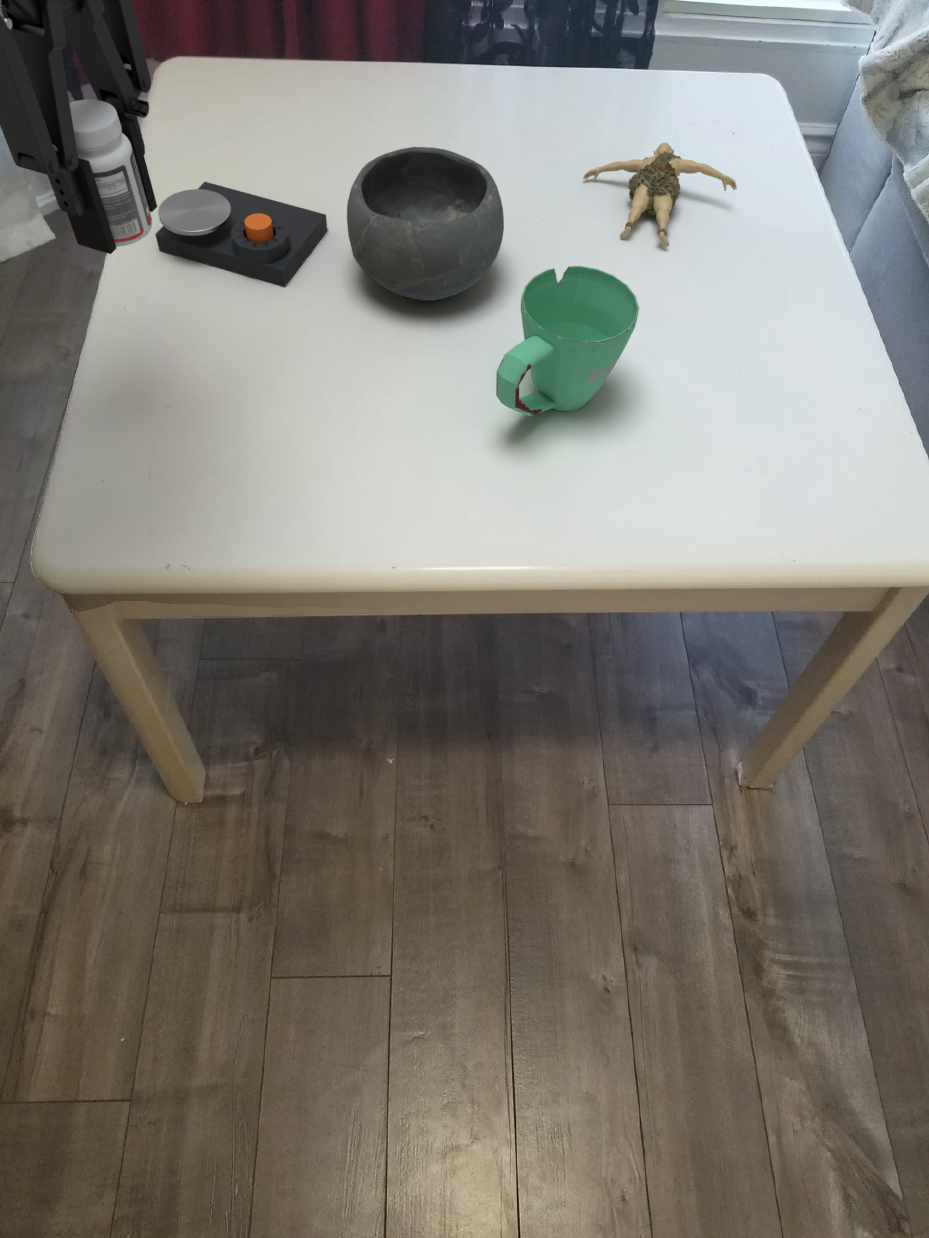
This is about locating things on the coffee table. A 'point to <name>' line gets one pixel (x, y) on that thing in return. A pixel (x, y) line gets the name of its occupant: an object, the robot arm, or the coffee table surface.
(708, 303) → the coffee table surface
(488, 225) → the bowl
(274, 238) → the scale
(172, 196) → the scale pan
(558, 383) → the mug
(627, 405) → the coffee table surface
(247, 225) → the button
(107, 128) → the pill bottle
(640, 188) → the figurine
